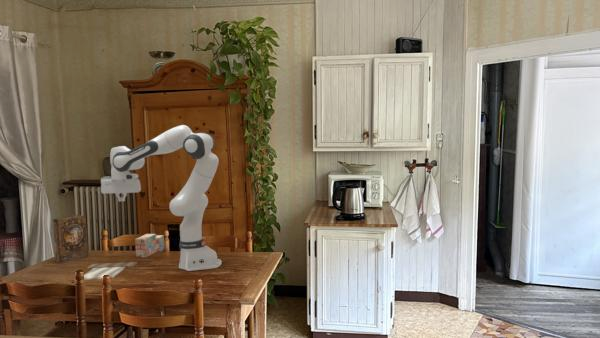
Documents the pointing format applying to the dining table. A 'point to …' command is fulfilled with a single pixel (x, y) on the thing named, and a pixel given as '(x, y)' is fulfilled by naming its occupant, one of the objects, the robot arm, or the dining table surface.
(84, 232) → the book
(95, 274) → the metal panel
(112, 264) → the grey flat bar
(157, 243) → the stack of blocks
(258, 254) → the dining table surface
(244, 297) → the dining table surface
